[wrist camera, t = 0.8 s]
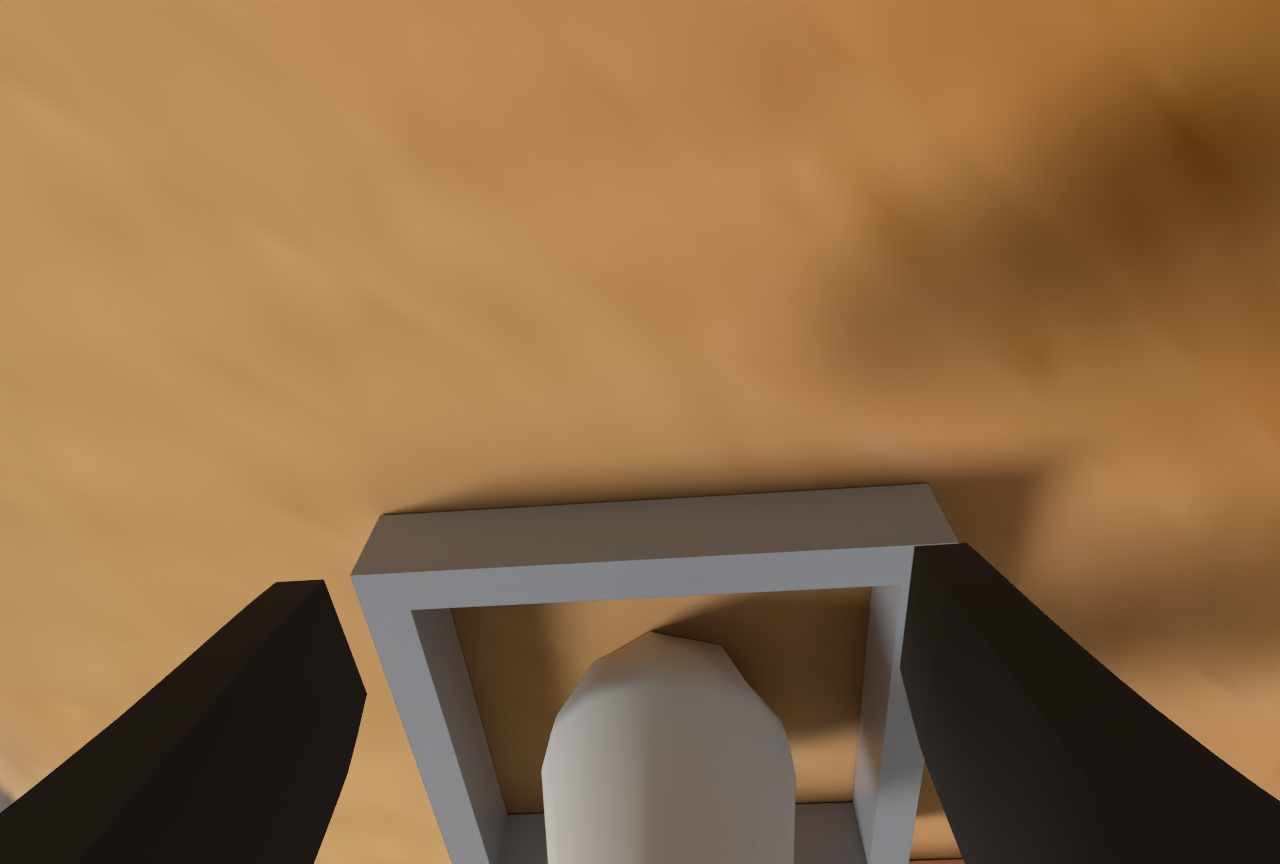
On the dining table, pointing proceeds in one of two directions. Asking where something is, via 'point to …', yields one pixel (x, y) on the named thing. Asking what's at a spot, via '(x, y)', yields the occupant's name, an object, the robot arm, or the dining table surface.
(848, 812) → the grey square frame
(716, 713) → the salt shaker
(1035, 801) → the robot arm
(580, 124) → the dining table surface
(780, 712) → the dining table surface
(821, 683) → the dining table surface
